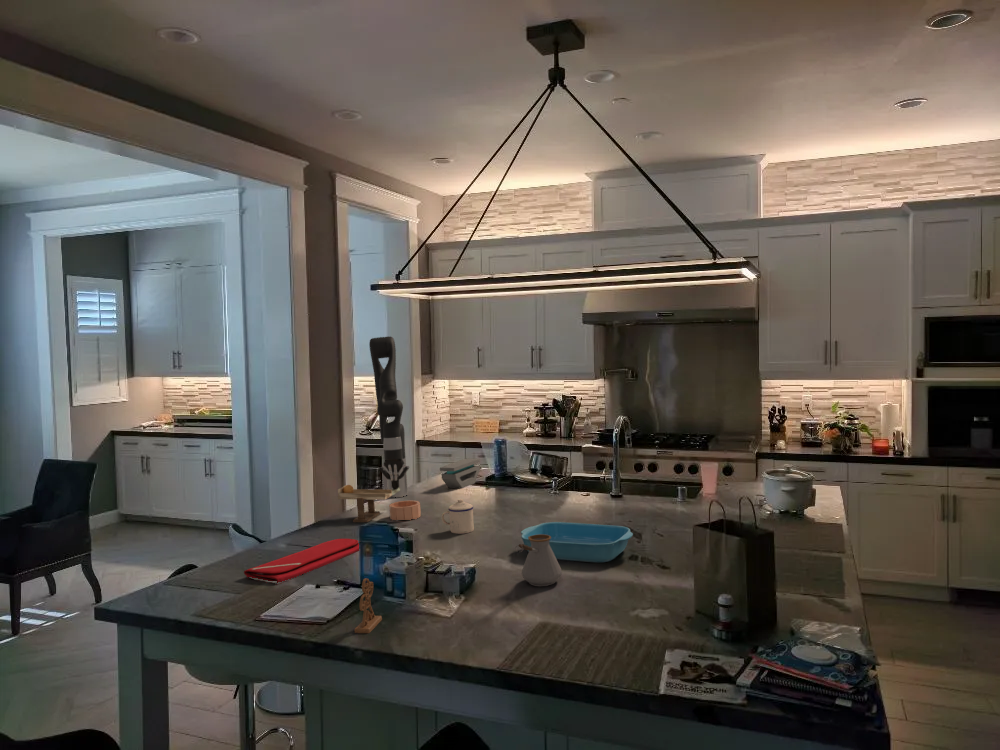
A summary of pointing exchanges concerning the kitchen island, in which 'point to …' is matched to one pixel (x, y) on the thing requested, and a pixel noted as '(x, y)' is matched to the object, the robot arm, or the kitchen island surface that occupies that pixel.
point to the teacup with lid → (460, 517)
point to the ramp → (367, 494)
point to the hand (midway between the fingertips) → (395, 489)
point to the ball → (348, 489)
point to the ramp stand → (368, 514)
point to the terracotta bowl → (405, 510)
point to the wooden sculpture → (368, 618)
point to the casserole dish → (582, 540)
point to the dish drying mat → (304, 560)
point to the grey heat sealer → (460, 473)
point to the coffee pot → (540, 562)
